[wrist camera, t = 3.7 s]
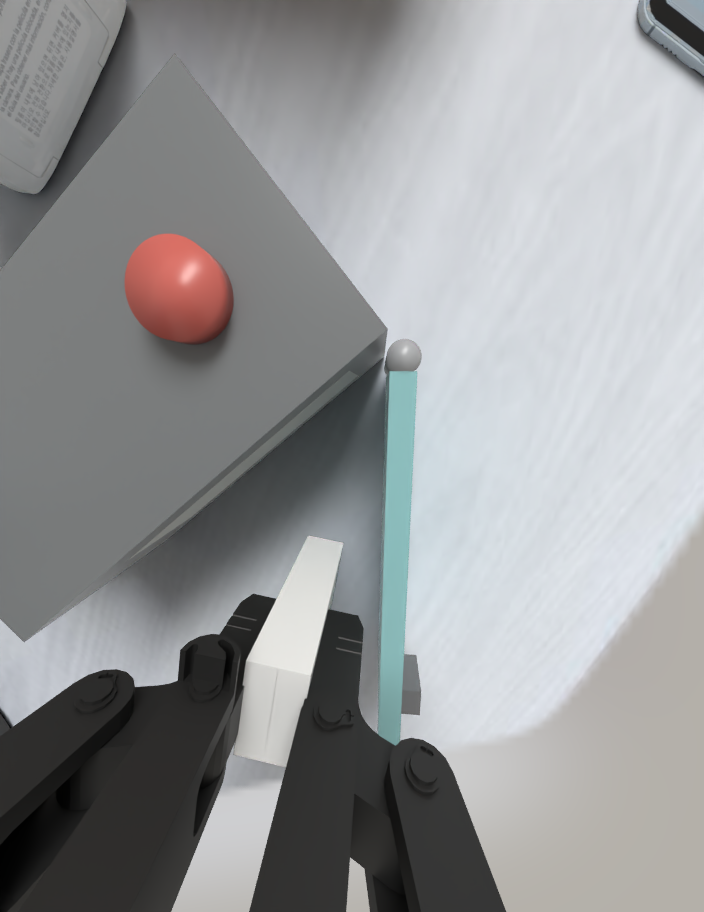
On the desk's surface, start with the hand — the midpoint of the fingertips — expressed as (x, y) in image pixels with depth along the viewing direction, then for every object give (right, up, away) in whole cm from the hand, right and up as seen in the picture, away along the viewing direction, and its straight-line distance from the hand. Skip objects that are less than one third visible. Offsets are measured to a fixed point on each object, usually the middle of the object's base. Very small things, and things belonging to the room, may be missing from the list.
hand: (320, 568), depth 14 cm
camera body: (-7, +7, +4) cm, 10 cm away
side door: (+4, +2, +3) cm, 5 cm away
